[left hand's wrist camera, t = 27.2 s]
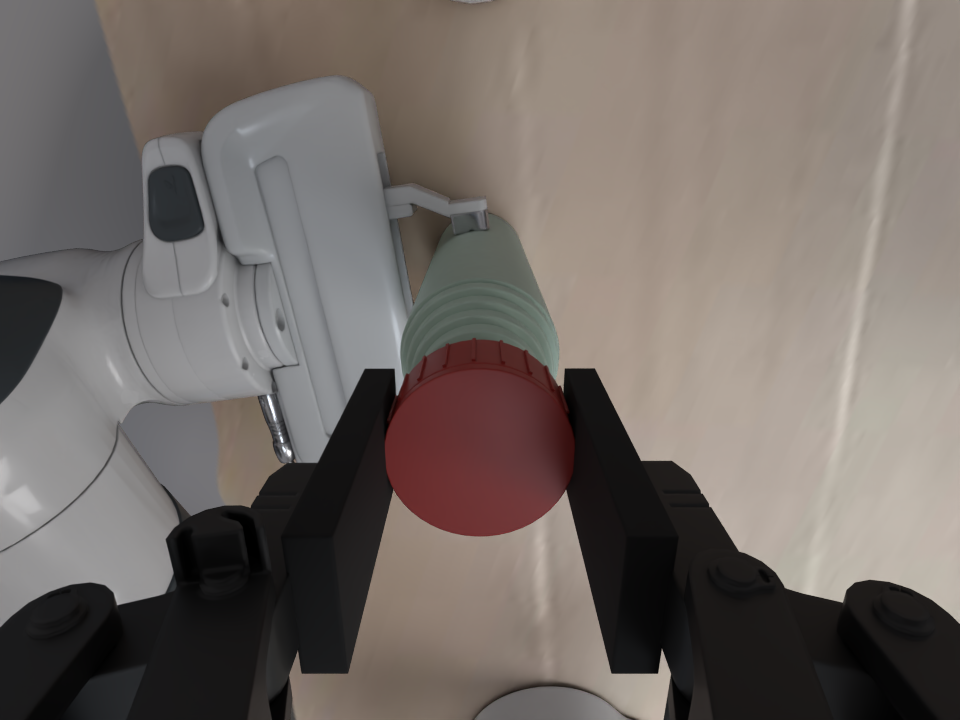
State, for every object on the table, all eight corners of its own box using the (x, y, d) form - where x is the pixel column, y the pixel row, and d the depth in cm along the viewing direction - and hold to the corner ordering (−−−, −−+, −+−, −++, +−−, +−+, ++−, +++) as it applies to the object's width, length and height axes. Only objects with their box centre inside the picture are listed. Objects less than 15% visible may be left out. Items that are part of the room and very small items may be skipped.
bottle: (518, 207, 34) (584, 322, 13) (526, 292, 36) (595, 520, 15) (431, 217, 35) (349, 348, 13) (443, 302, 36) (389, 540, 15)
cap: (486, 299, 14) (487, 324, 12) (601, 423, 15) (618, 464, 13) (357, 412, 15) (339, 451, 13) (474, 519, 16) (473, 569, 14)
